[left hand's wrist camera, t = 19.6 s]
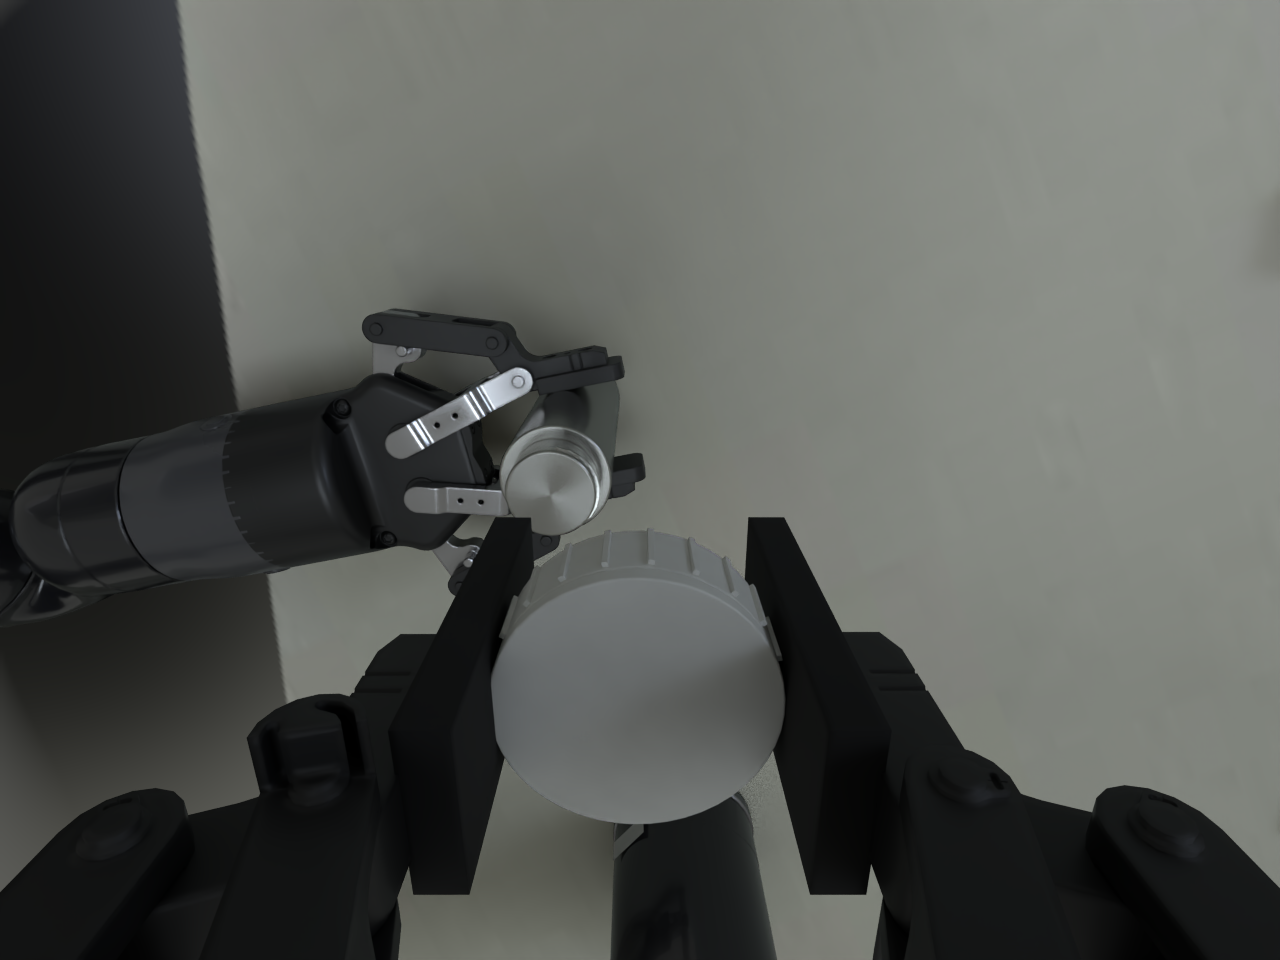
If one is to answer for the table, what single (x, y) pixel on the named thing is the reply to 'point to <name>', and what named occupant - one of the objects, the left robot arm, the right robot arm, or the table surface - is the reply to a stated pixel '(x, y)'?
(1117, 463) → the table surface
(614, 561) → the lid
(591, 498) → the metal cylinder tube
